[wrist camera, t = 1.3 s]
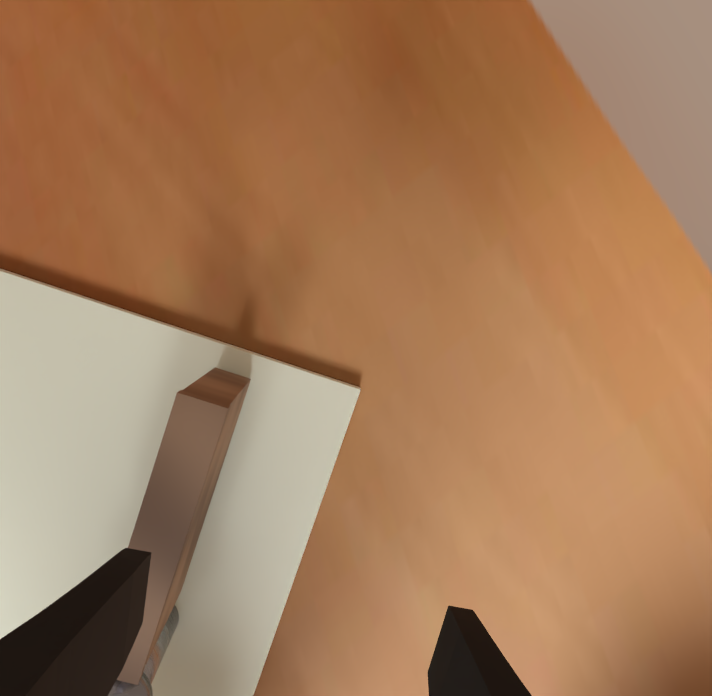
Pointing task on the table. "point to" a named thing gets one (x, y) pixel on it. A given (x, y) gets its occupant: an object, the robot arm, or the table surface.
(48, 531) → the board
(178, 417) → the brown wooden block
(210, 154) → the table surface
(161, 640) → the post
